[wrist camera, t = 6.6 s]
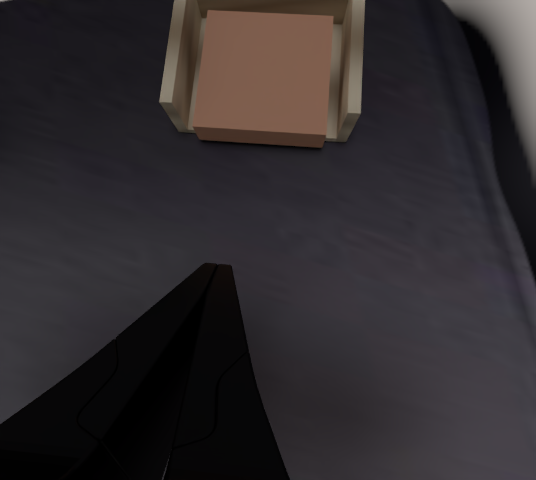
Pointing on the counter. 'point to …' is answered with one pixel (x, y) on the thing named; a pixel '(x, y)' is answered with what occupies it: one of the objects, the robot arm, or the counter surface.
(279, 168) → the counter surface
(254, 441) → the robot arm
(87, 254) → the counter surface
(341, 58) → the tray
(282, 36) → the drawer panel
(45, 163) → the counter surface
